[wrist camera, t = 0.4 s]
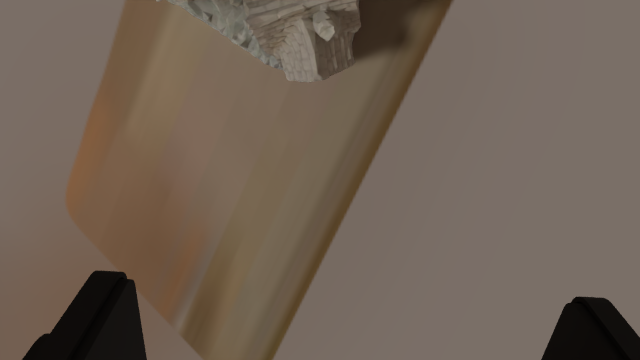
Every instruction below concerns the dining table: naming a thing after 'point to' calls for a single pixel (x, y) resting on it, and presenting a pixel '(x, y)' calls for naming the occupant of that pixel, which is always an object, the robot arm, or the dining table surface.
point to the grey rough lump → (287, 32)
